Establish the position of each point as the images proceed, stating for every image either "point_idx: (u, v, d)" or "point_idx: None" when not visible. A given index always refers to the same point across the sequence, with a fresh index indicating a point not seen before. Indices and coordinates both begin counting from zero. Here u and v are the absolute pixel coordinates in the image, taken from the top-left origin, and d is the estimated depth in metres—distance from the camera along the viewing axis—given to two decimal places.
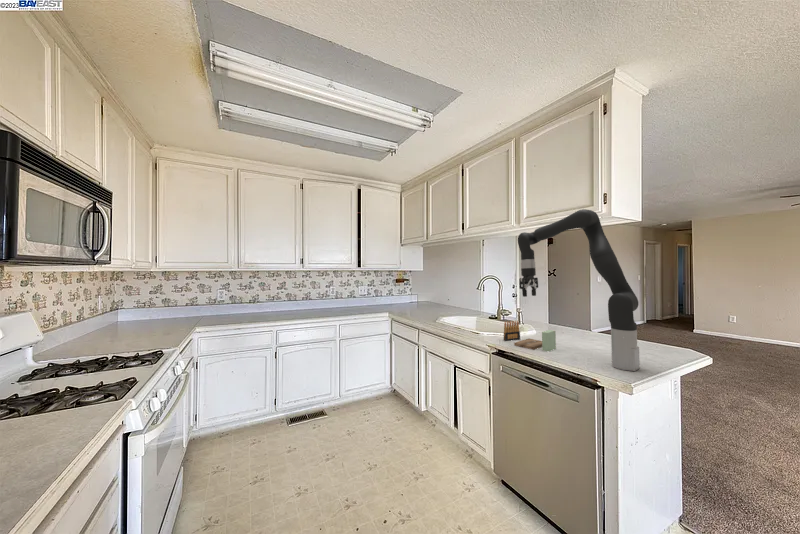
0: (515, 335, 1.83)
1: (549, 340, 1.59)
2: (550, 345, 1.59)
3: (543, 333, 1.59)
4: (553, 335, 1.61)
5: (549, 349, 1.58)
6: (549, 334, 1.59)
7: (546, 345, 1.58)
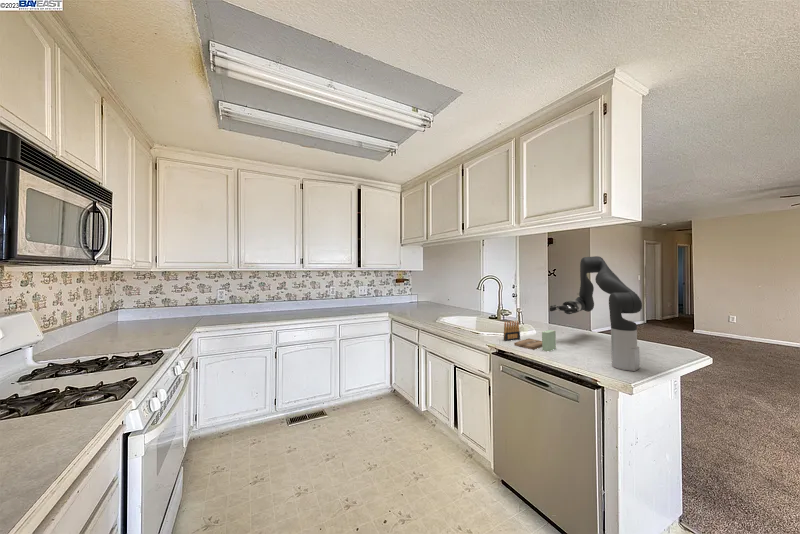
0: (515, 335, 1.83)
1: (549, 340, 1.59)
2: (550, 345, 1.59)
3: (543, 333, 1.59)
4: (553, 335, 1.61)
5: (549, 349, 1.58)
6: (549, 334, 1.59)
7: (546, 345, 1.58)
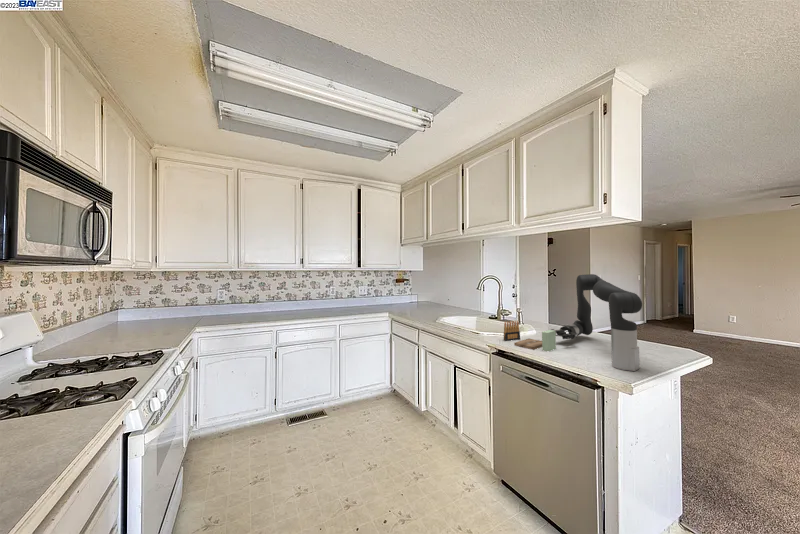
0: (515, 335, 1.83)
1: (549, 340, 1.59)
2: (550, 345, 1.59)
3: (543, 333, 1.59)
4: (553, 335, 1.61)
5: (549, 349, 1.58)
6: (549, 334, 1.59)
7: (546, 345, 1.58)
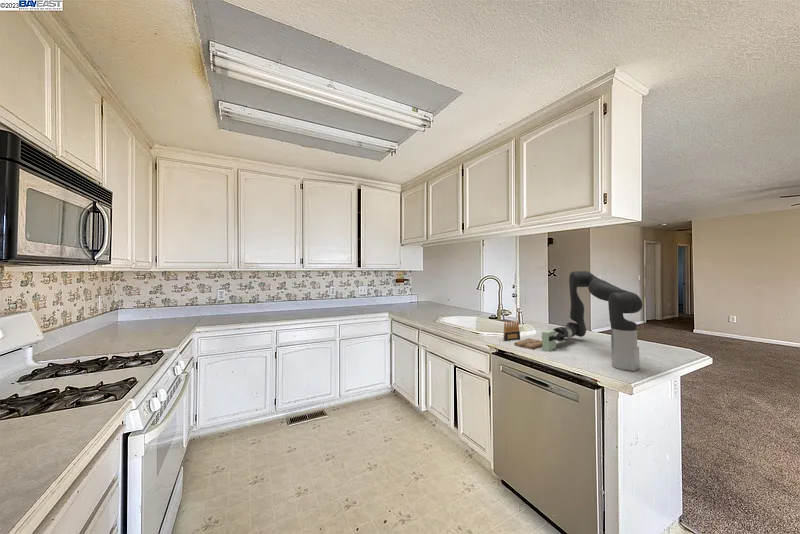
0: (515, 335, 1.83)
1: None
2: (550, 345, 1.59)
3: (543, 333, 1.59)
4: (553, 335, 1.61)
5: (549, 349, 1.58)
6: (549, 334, 1.58)
7: (546, 345, 1.58)
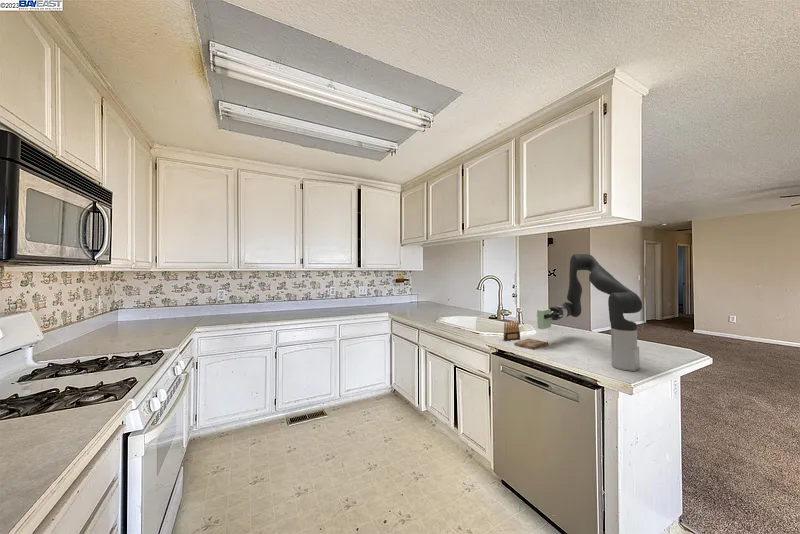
0: (515, 335, 1.83)
1: None
2: (545, 323, 1.62)
3: (538, 311, 1.62)
4: (548, 313, 1.63)
5: (544, 327, 1.61)
6: (544, 312, 1.61)
7: (541, 323, 1.61)
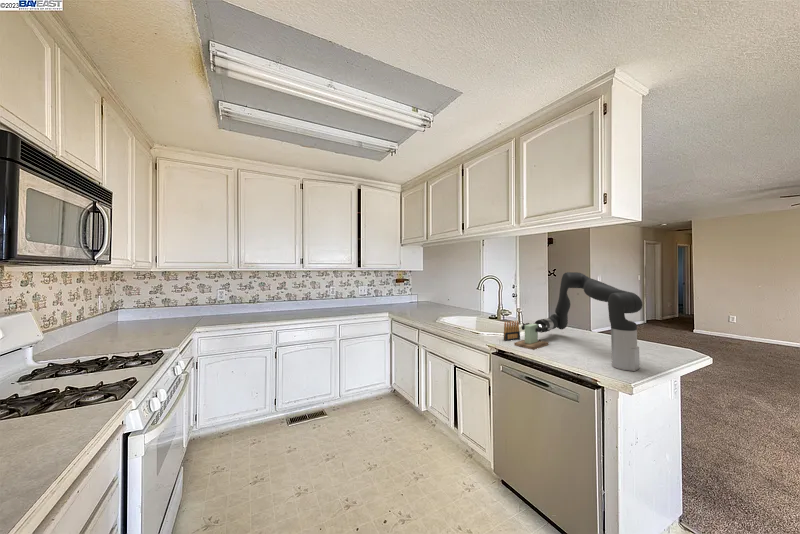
0: (515, 335, 1.83)
1: (531, 333, 1.68)
2: (532, 338, 1.69)
3: (526, 326, 1.69)
4: (535, 328, 1.70)
5: (531, 342, 1.68)
6: (531, 327, 1.68)
7: (528, 337, 1.67)
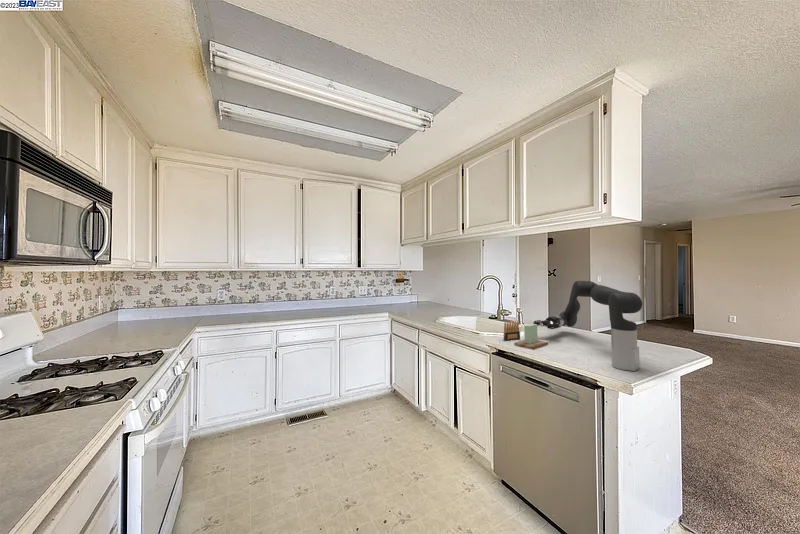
0: (515, 335, 1.83)
1: (531, 333, 1.68)
2: (532, 338, 1.69)
3: (525, 326, 1.69)
4: (535, 328, 1.70)
5: (531, 341, 1.68)
6: (531, 327, 1.68)
7: (528, 337, 1.68)
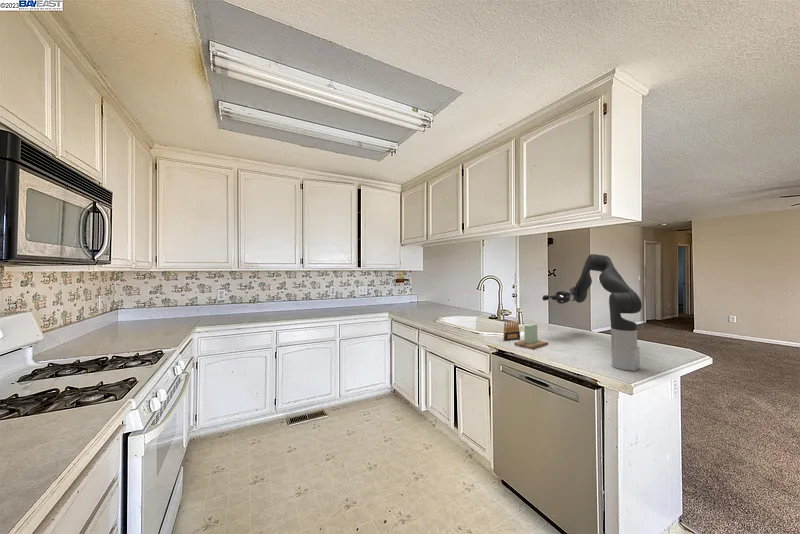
0: (515, 335, 1.83)
1: (531, 333, 1.68)
2: (532, 338, 1.69)
3: (525, 326, 1.69)
4: (535, 328, 1.70)
5: (531, 341, 1.68)
6: (531, 327, 1.68)
7: (528, 337, 1.68)
